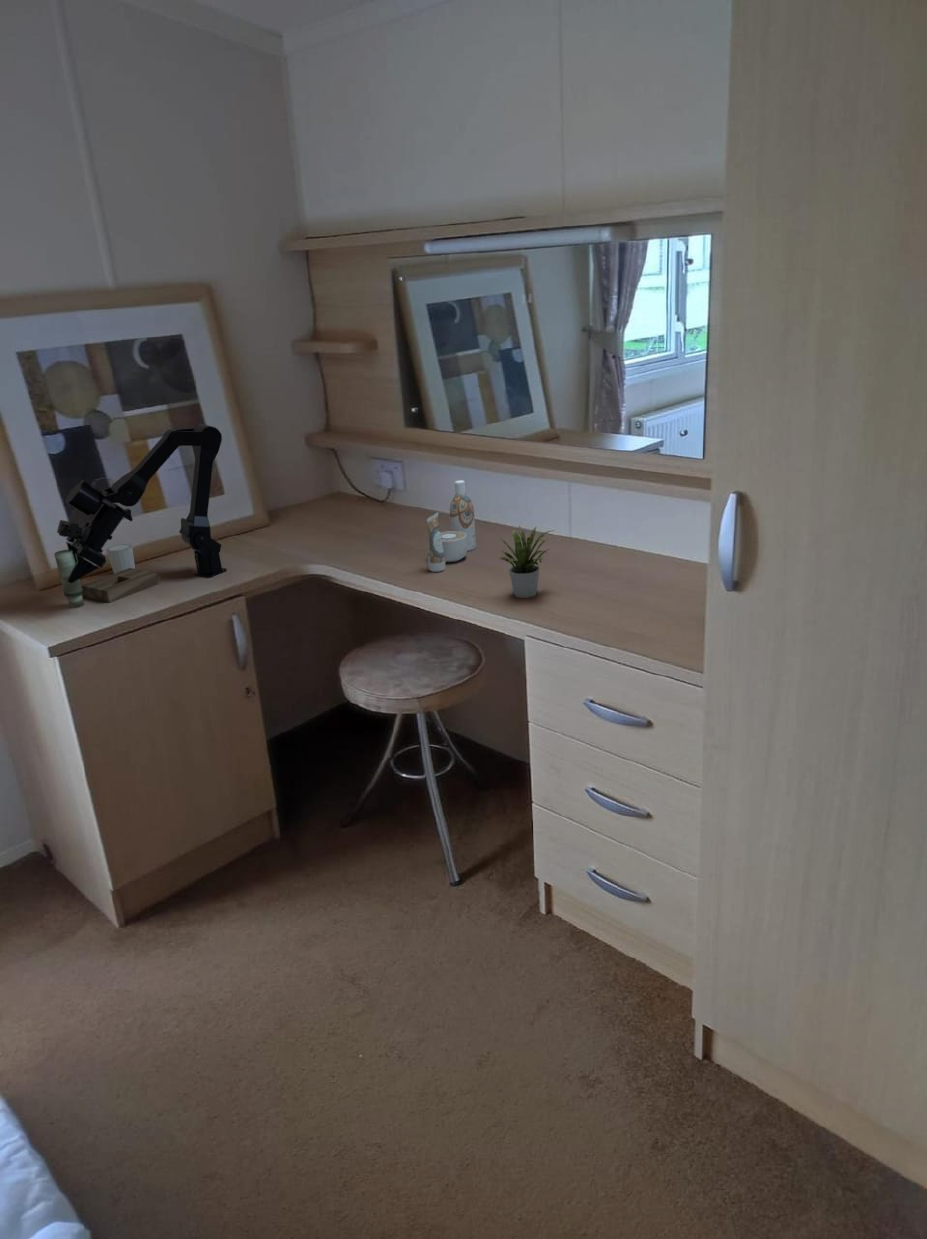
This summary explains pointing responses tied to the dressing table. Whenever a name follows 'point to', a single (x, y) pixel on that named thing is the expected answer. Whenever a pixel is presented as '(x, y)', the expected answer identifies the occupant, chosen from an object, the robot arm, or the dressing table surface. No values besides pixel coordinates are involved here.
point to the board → (119, 584)
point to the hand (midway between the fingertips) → (66, 577)
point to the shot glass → (121, 557)
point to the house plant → (524, 564)
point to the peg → (65, 568)
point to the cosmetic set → (452, 532)
